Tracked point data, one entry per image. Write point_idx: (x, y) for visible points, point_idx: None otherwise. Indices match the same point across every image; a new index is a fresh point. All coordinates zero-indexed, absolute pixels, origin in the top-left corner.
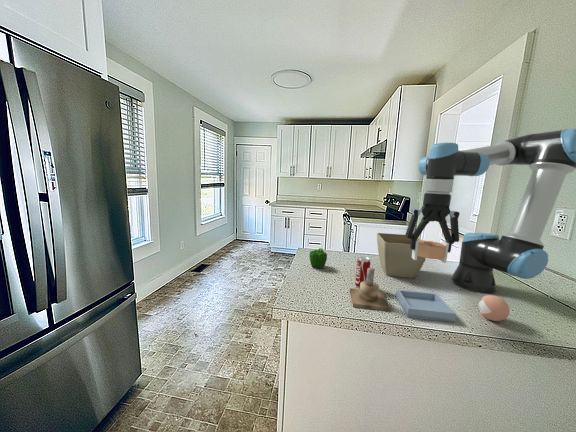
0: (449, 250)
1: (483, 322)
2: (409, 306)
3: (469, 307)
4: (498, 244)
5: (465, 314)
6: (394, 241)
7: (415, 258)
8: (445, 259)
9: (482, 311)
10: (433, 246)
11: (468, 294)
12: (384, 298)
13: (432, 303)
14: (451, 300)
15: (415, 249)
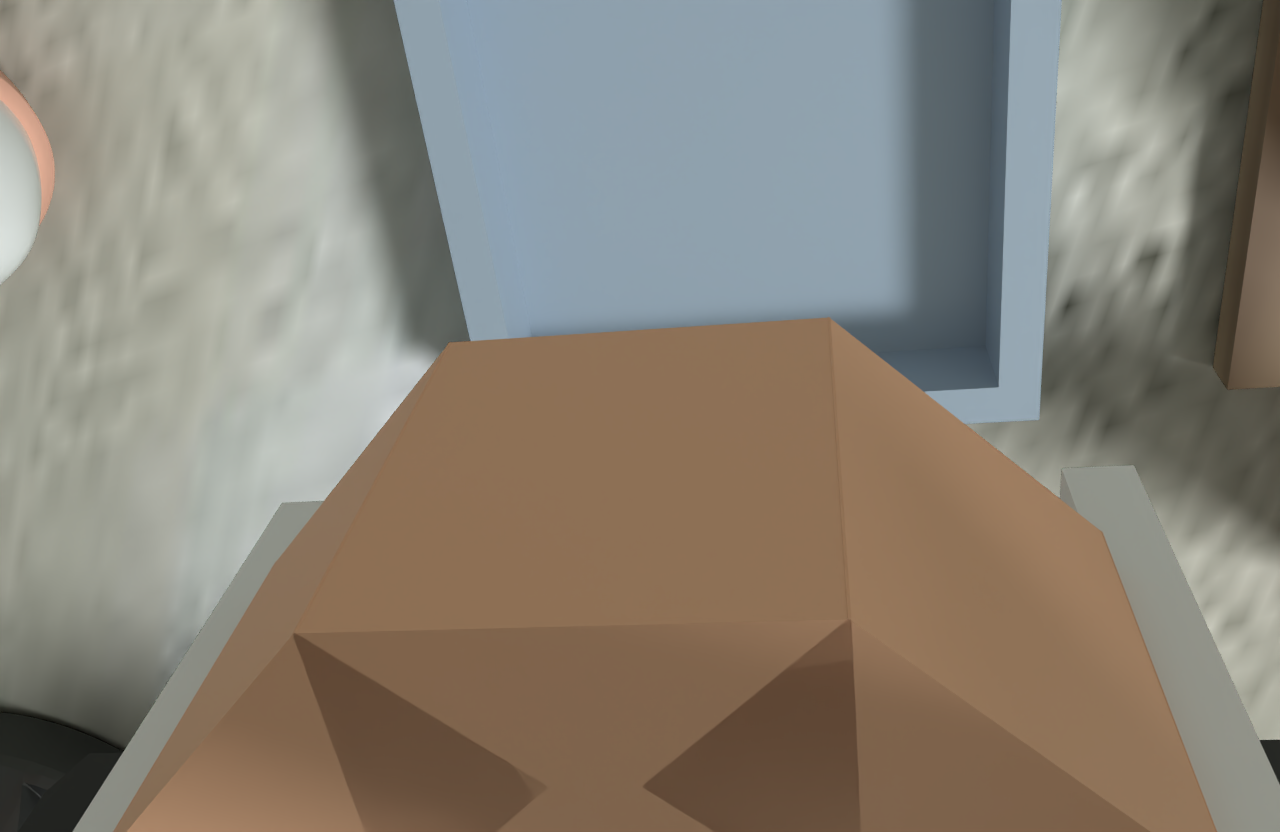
0: (69, 811)
1: (61, 5)
2: None
3: (156, 342)
4: None
5: (229, 147)
6: None
7: (1115, 497)
8: (274, 556)
9: (17, 123)
10: (661, 701)
11: (119, 639)
12: (1269, 180)
13: (578, 265)
14: (322, 454)
15: (1242, 722)
